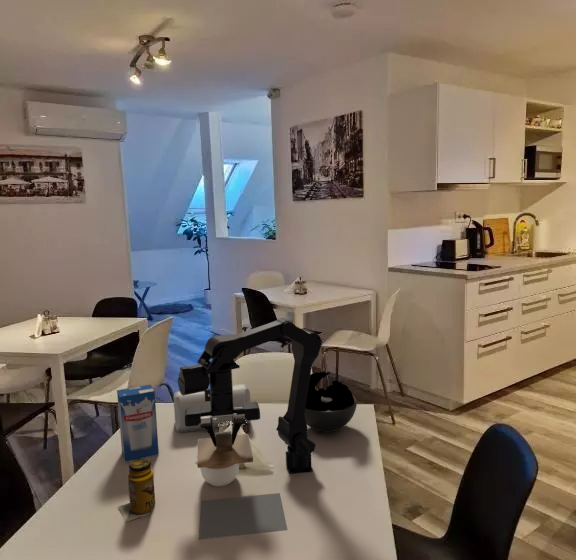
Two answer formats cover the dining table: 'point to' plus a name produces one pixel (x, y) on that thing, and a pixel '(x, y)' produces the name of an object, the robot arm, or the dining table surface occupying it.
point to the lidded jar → (220, 474)
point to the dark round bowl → (328, 405)
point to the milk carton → (138, 422)
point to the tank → (205, 406)
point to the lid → (224, 450)
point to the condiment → (139, 490)
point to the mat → (241, 516)
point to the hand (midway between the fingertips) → (224, 445)
